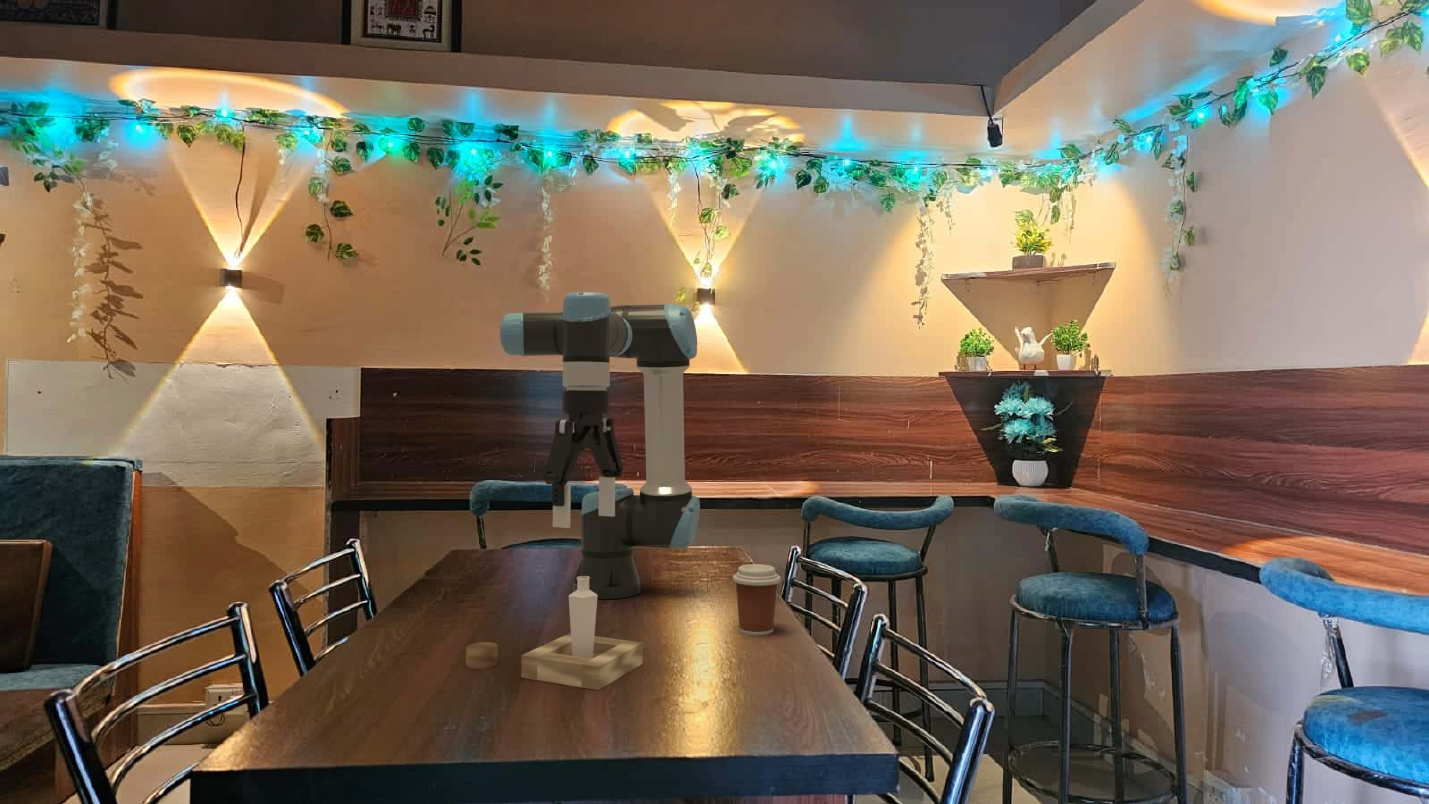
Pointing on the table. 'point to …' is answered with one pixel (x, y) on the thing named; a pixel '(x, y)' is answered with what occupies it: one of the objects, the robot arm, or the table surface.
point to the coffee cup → (756, 598)
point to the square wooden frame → (582, 662)
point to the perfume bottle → (582, 618)
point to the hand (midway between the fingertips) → (585, 521)
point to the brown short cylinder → (481, 655)
